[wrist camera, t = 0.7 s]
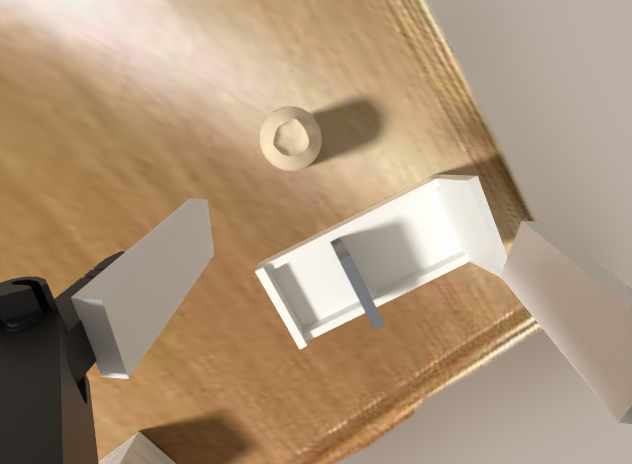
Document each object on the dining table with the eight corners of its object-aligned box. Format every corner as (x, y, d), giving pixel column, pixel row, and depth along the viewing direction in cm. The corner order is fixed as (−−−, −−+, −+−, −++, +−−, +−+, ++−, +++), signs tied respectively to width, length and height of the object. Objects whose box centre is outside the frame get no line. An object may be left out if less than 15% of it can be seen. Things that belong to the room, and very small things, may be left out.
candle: (276, 114, 35) (270, 92, 25) (322, 131, 36) (332, 117, 26) (261, 160, 36) (249, 157, 26) (306, 177, 37) (310, 180, 27)
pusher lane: (258, 262, 38) (248, 290, 30) (434, 174, 38) (477, 175, 29) (299, 334, 41) (300, 379, 32) (466, 252, 40) (514, 275, 31)
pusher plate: (330, 242, 37) (339, 260, 30) (339, 237, 37) (350, 254, 30) (358, 298, 39) (374, 330, 31) (367, 294, 39) (384, 324, 31)
